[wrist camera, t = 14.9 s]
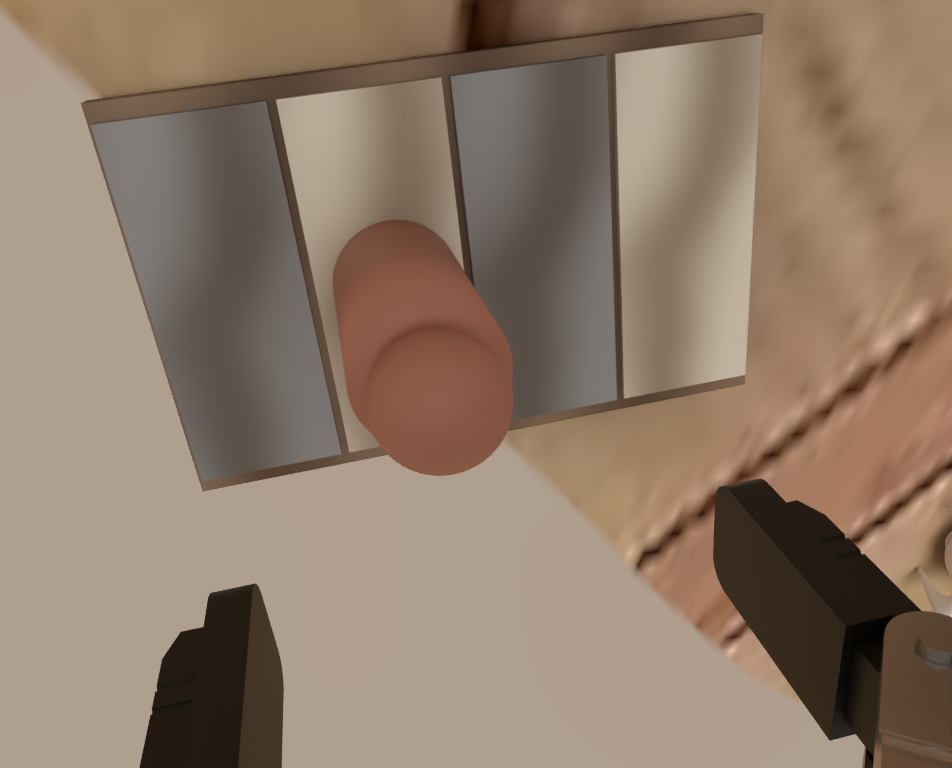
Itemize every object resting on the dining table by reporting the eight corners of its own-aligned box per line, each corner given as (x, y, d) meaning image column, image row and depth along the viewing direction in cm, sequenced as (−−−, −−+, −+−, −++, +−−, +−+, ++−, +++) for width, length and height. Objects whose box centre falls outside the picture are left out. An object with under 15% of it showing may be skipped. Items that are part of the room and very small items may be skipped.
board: (751, 13, 27) (768, 13, 26) (735, 375, 34) (748, 387, 33) (87, 100, 25) (78, 104, 24) (204, 479, 31) (201, 495, 30)
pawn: (450, 210, 27) (540, 330, 17) (465, 328, 29) (552, 497, 19) (321, 231, 27) (337, 367, 17) (345, 350, 29) (372, 535, 19)
